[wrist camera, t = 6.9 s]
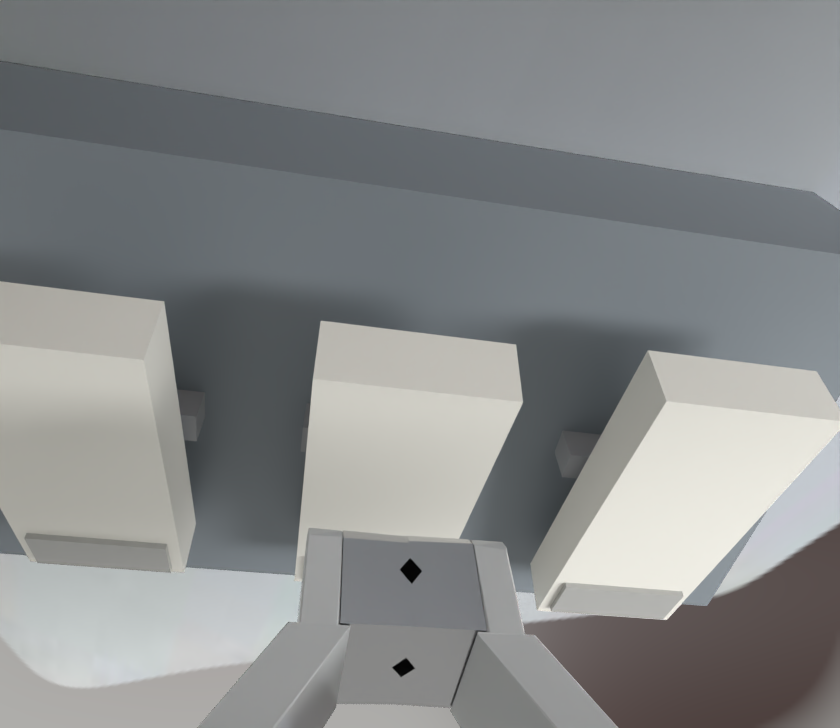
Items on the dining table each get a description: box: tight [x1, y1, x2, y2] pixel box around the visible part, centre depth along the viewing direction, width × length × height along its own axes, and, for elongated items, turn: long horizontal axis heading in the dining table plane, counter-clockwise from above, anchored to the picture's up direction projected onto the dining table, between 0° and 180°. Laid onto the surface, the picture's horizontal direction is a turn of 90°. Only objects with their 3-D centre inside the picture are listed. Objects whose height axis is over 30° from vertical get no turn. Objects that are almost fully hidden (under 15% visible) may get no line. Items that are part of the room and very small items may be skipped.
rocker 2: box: [294, 321, 523, 581], centre depth 17 cm, size 4×9×2 cm, turn 170°
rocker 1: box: [0, 281, 196, 573], centre depth 16 cm, size 4×9×2 cm, turn 170°
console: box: [0, 61, 840, 606], centre depth 20 cm, size 24×13×6 cm, turn 80°
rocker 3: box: [530, 350, 840, 620], centre depth 18 cm, size 4×9×2 cm, turn 170°
